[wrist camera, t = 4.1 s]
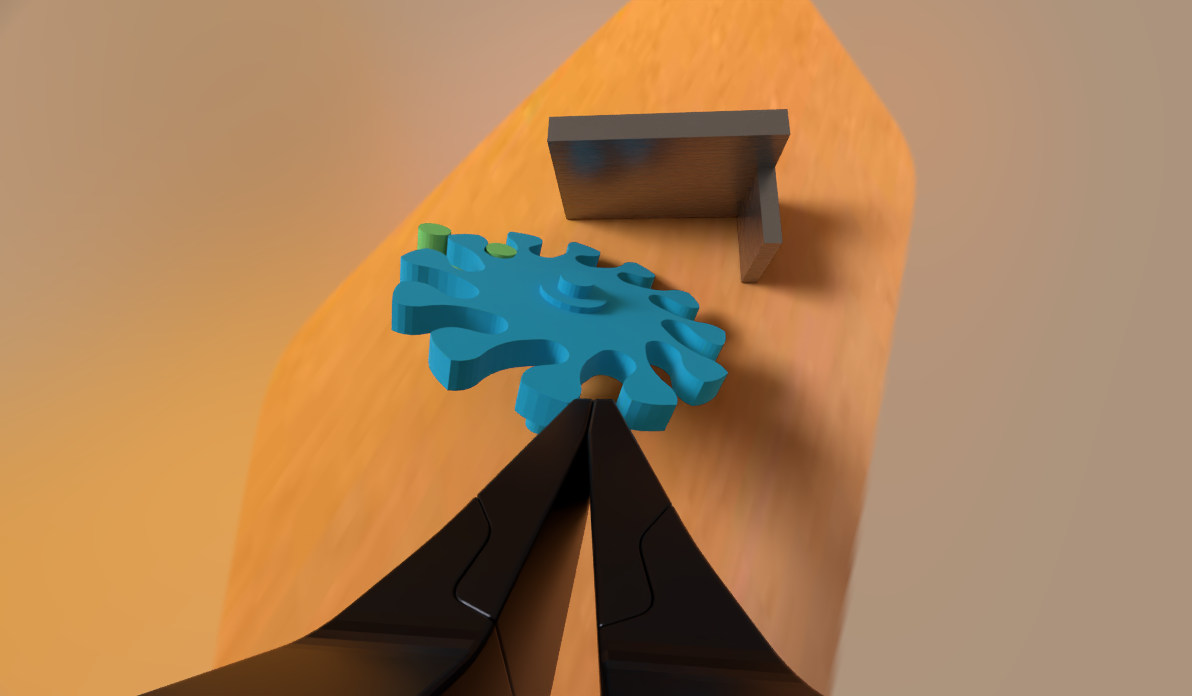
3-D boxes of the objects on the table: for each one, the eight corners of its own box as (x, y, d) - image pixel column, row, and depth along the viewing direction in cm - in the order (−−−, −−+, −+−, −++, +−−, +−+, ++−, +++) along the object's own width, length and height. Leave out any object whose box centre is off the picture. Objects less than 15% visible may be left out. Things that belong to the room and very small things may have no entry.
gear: (773, 311, 15) (648, 464, 7) (706, 433, 18) (565, 638, 10) (532, 198, 19) (276, 215, 11) (510, 315, 22) (298, 394, 14)
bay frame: (757, 282, 17) (799, 216, 13) (562, 282, 18) (541, 220, 13) (750, 196, 18) (787, 109, 14) (567, 199, 19) (549, 117, 15)
